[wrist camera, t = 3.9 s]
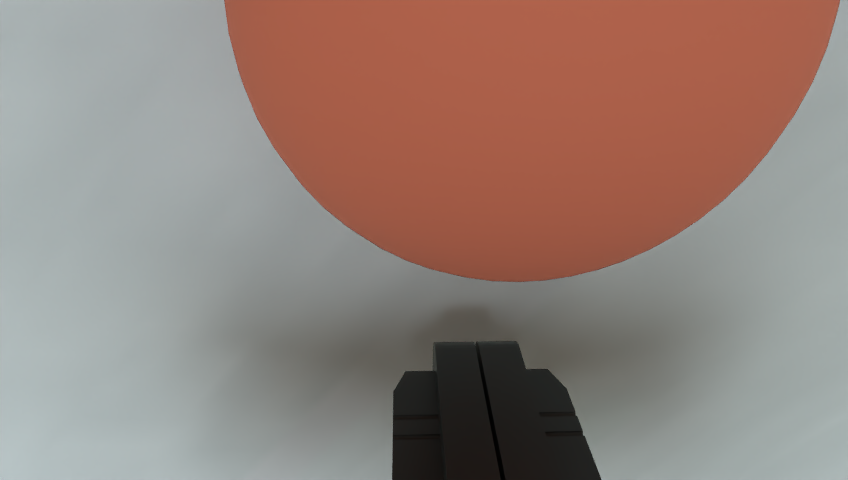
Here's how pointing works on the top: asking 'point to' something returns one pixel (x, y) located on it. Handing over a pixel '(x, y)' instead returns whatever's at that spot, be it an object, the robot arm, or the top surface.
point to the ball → (524, 117)
